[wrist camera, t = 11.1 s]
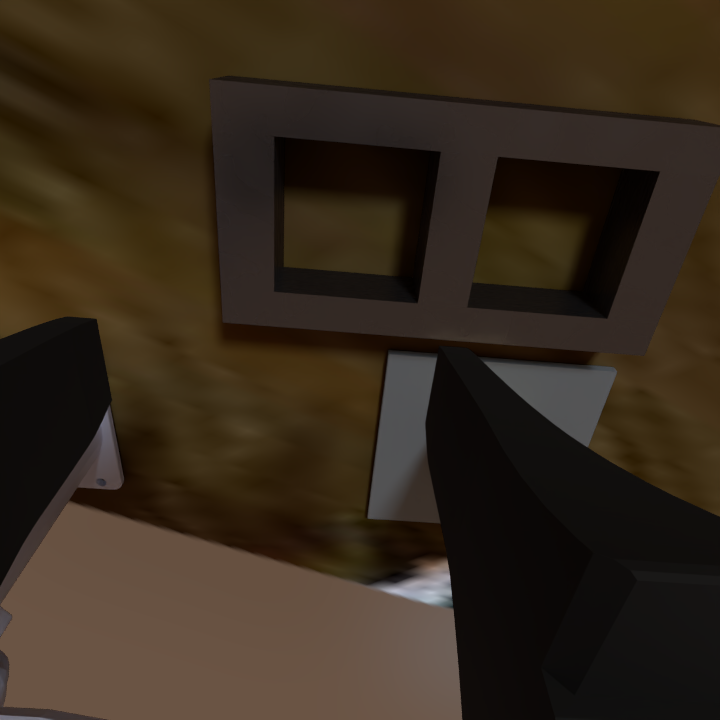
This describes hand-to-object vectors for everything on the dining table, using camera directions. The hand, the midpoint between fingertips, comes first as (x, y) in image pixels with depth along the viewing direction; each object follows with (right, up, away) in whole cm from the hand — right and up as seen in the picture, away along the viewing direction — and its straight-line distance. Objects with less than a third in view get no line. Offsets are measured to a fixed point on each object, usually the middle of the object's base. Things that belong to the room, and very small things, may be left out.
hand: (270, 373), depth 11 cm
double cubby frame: (+5, +6, +9) cm, 12 cm away
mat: (+8, -4, +14) cm, 17 cm away
